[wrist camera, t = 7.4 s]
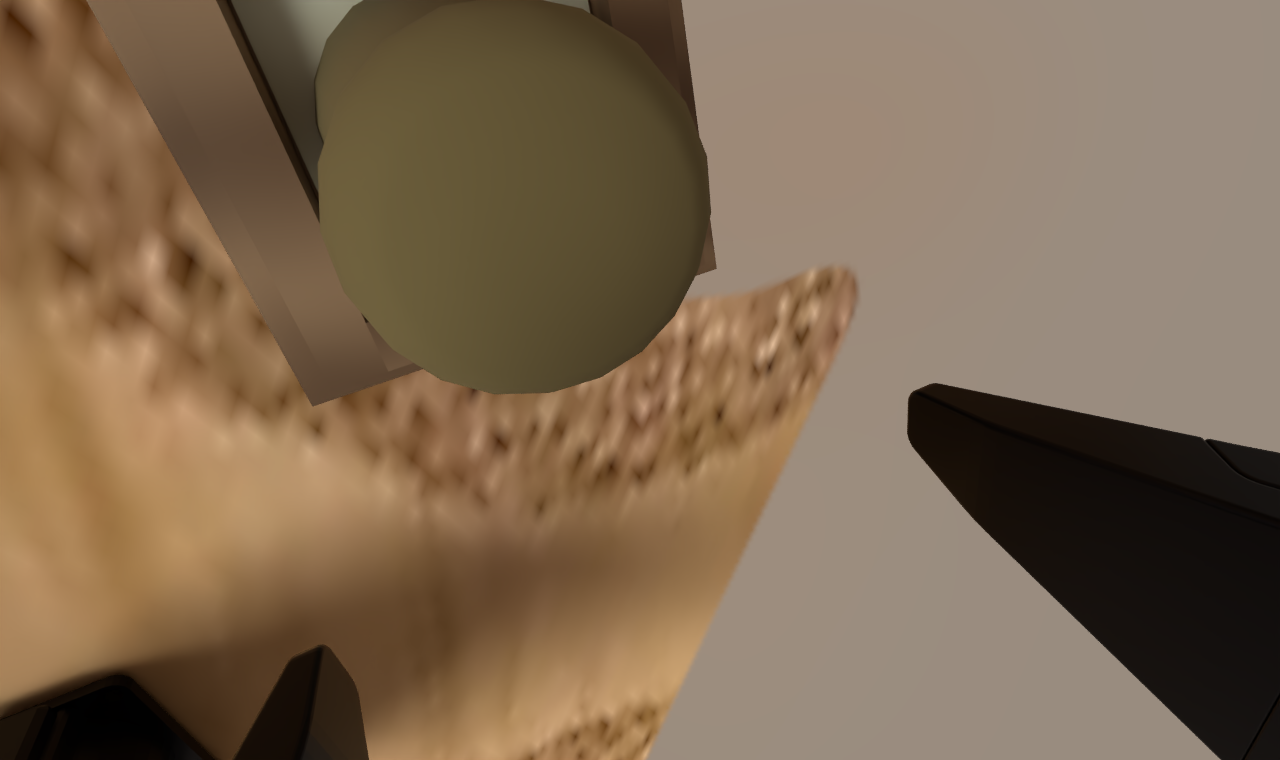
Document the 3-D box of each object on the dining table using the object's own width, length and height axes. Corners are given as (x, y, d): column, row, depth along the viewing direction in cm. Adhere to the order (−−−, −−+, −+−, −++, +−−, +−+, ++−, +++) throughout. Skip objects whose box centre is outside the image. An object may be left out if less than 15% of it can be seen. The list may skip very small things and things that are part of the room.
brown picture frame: (703, 259, 23) (738, 284, 21) (314, 390, 20) (310, 433, 18) (631, -249, 16) (673, -287, 14) (17, -154, 13) (-45, -184, 11)
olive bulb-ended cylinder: (440, 280, 19) (523, 536, 10) (251, 93, 15) (108, 219, 6) (605, 140, 18) (847, 266, 10) (454, -82, 15) (610, -213, 6)
